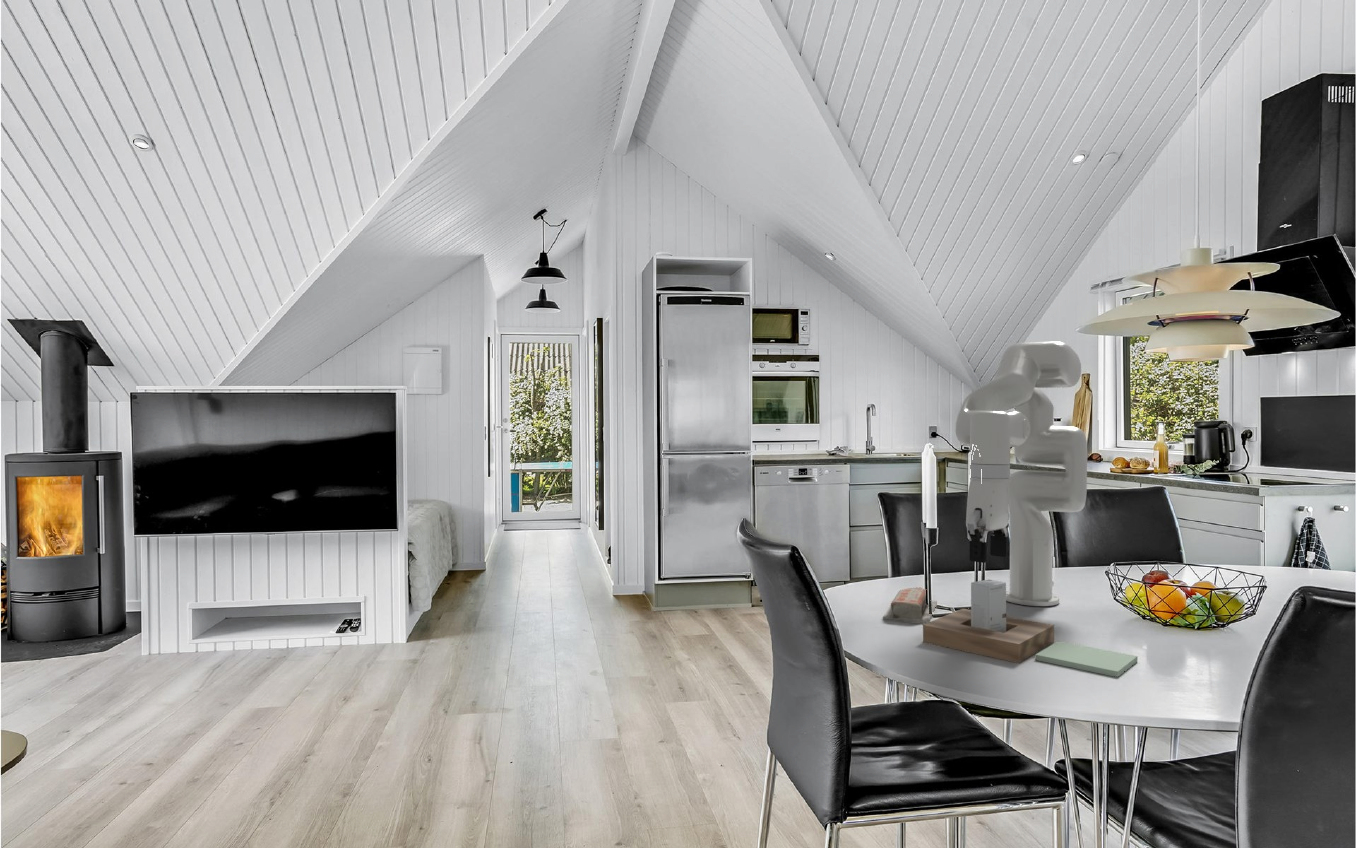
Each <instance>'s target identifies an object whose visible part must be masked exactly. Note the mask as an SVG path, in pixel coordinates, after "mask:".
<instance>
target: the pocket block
mask: <svg viewBox="0 0 1356 848" xmlns="http://www.w3.org/2000/svg"><path fill="white" fill-rule="evenodd" d="M924 642H926V643H925V644H929V643H930V644H929V645H934V646H938V645H939V646H938V647H943V648H947V647H949V648H948V649H953V650H958V651H961V650H962V651H963V652H966V653H970V652H972V654H976V655H980V654H981V655H980V656H984V657H985V656H986V657H989V658H994V659H999V660H1004V661H1007V662H1013V663H1017V664H1021V662H1024V661H1025V660H1027V659H1028V658H1030V657H1032V656H1033V655H1036V654H1037V653H1039V652H1041V651H1042V650H1044V649H1046V648H1047V647H1049V646H1051V645H1052V644H1054V643H1055V625H1054V624H1050V623H1046V622H1038V621H1034V620H1029V619H1023V618H1017V617H1013V616H1007V615H1006V632H1005V633H1002V632H997V631H992V630H987V629H982V628H977V627H971V609H967V608H959V609H958V610H956V611H953V612H950V613H949V614H946V615H943V616H941V617H939V618H937V619H934V620H930V622H929V623H926V624H922V643H924Z"/></svg>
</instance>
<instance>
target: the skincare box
mask: <svg viewBox="0 0 1356 848" xmlns="http://www.w3.org/2000/svg"><path fill="white" fill-rule="evenodd" d="M1006 591H1007V583H1006V582H1005V581H999V580H994V579H985V580H984V579H982V580H978V581H972V582H971V583H970V610H971V627H977V628H982V629H987V630H992V631H997V632H1002V633H1005V632H1006V616H1007V601H1006Z"/></svg>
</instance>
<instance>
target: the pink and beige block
mask: <svg viewBox="0 0 1356 848" xmlns="http://www.w3.org/2000/svg"><path fill="white" fill-rule="evenodd" d="M926 590H927V589H924V588H923V587H911V588H903V589H901V590H899V591H898V592H897V594H896V596H894V598H893V600H892V601H891V602H890V606H888V609H887V610H886V611H885V613H884V614H883V616H882V619H883V621H893V622H901V623H902V622H903V623H910V622H911V624H920V623H924V624H926V623H929V622H931V621H932V618H933V616H932V614H929V608H928V605H927V604H926ZM931 601H932V612H934V611H935V612H936V610H935V607H936V606H938V601H937V600H931ZM936 608H937V607H936ZM924 624H923V625H924Z"/></svg>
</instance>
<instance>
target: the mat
mask: <svg viewBox="0 0 1356 848" xmlns="http://www.w3.org/2000/svg"><path fill="white" fill-rule="evenodd" d="M1034 655H1035V657H1034V658H1035V661H1039V662H1044V663H1049V664H1055V665H1059V666H1061V667H1062V666H1063V667H1066V668H1067V667H1068V668H1071V669H1077V670H1082V671H1087V672H1092V673H1094V674H1095V673H1097V674H1099V675H1100V674H1101V675H1106V676H1111V677H1114V676H1115V677H1114V678H1119V677H1120V676H1121V675H1123V674H1124V673H1125V672H1126V671H1127V669H1128V670H1129V669H1130V668H1132V667H1133V666H1134V665H1135V664H1137V662H1138V657H1139V656H1138V655H1134V654H1128V653H1122V652H1118V651H1113V650H1108V649H1103V648H1098V647H1097V648H1095V647H1091V646H1087V645H1083V644H1082V645H1081V644H1076V643H1070V642H1066V641H1065V642H1064V641H1060V640H1058V641H1056V642H1054V643H1052V644H1050V645H1049V646H1047V647H1045V648H1044V649H1042V650H1040V651H1039V652H1037V653H1035V654H1034ZM1132 665H1133V666H1132ZM1124 671H1125V672H1124ZM1118 676H1119V677H1118Z"/></svg>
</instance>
